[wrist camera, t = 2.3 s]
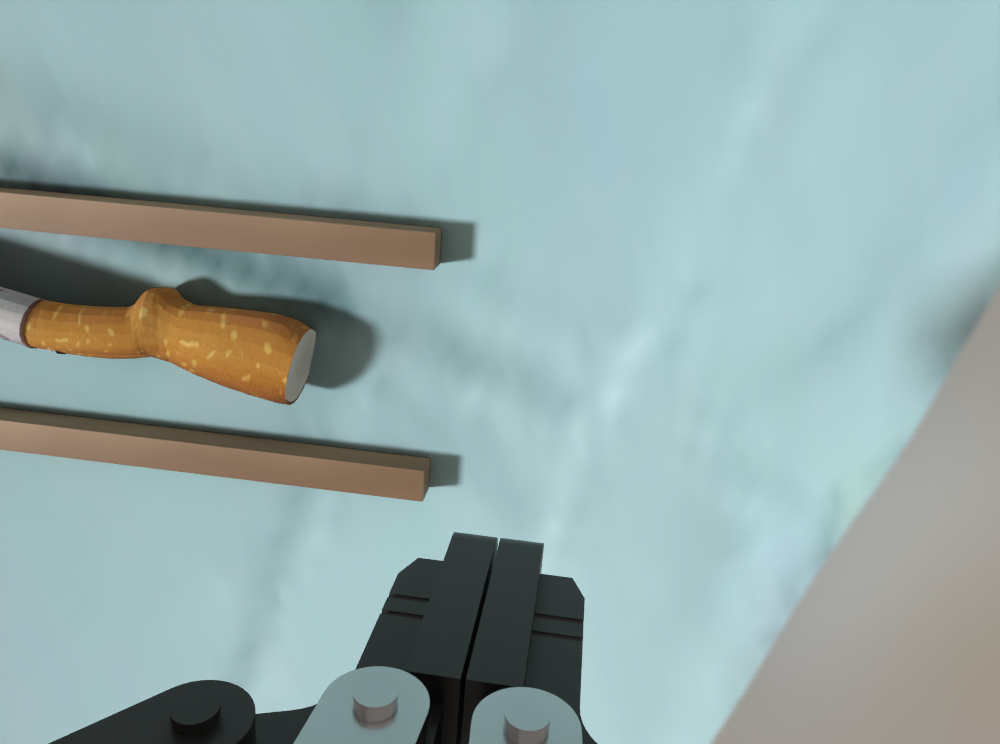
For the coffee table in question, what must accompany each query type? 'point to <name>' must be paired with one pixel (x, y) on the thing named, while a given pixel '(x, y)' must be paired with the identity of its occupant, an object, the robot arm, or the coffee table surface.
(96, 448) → the holder
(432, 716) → the robot arm
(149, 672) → the coffee table surface
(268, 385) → the chisel
